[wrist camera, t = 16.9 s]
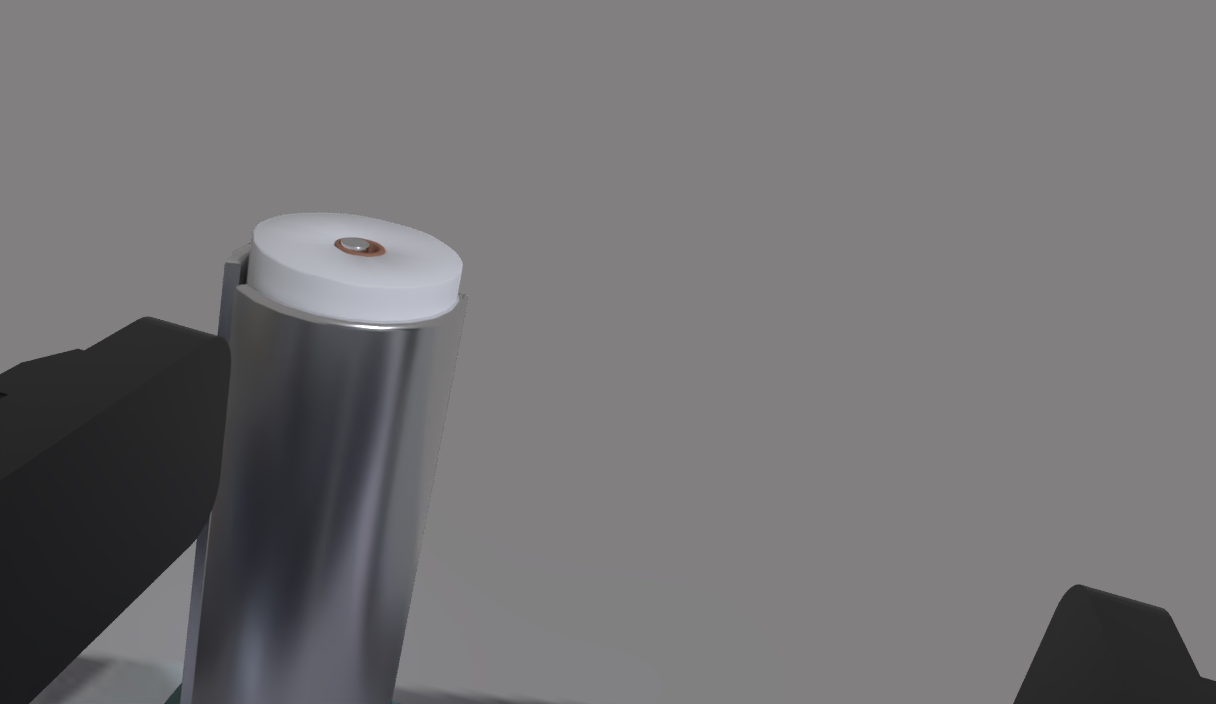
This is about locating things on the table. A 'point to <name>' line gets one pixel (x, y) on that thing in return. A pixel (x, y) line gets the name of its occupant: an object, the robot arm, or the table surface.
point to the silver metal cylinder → (322, 459)
